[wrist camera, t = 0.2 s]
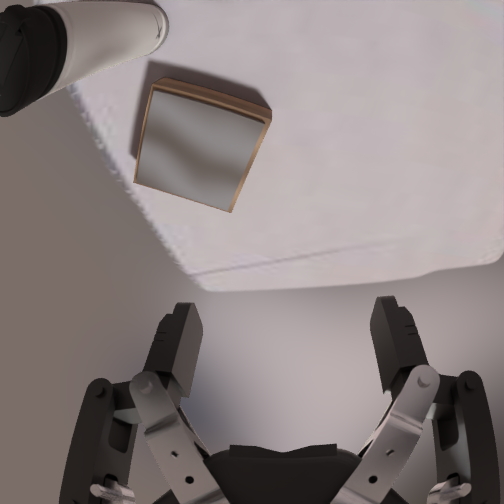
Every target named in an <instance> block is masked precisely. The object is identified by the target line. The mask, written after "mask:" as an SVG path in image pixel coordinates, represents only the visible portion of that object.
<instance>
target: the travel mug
mask: <svg viewBox="0 0 504 504" xmlns="http://www.w3.org/2000/svg"><path fill="white" fill-rule="evenodd" d="M168 31H169V21H168V18H167V16H166V14H165V12H164V11H163V10H162V9H160V8H159V7H157V6H155V5H151V4H143V3H132V2H115V1H76V2H60V3H49V4H41V5H35V6H32V7H27V8H25V7H23V6H22V5H12V6H8V7H7V8H6V9H5V11H4V12H1V13H0V116H1V117H8V116H11V115H13V114H15V113H16V112H18V111H20V110H21V109H23V108H25V107H26V106H28V105H29V104H31V103H32V102H35V101H37V100H40V99H42V98H44V97H46V96H47V95H49V94H52V93H53V92H55V91H57V90H59V89H61V88H63V87H65V86H68V85H70V84H72V83H74V82H76V81H78V80H81V79H83V78H85V77H88V76H90V75H92V74H95V73H97V72H100V71H102V70H105V69H107V68H110V67H113V66H115V65H118V64H121V63H124V62H127V61H130V60H133V59H136V58H139V57H142V56H146V55H148V54H151V53H153V52H154V51H156V50H157V49H158V48H159V47H160V46H161V45H162V44H163V43H164V41H165V39H166V38H167V35H168Z"/></svg>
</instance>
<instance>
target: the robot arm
mask: <svg viewBox="0 0 504 504" xmlns="http://www.w3.org/2000/svg"><path fill="white" fill-rule="evenodd" d="M370 331H371V336H372V340H373V344H374V349H375V353H376V358H377V363H378V368H379V373H380V378H381V383H382V389H383V394H389V393H391V395H392V401H391V402H390V404H389V406H388V407H387V409H386V411H385V413H384V414H383V416H382V418H381V420H380V421H379V423H378V425H377V426H376V428H375V430H374V431H373V432H372V434H371V435H370V437H369V438H368V439H367V441H366V443H365V444H364V445H363V447H362V448H361V449H360V451H359V452H358V454H357V455H356V454H354V453H352V452H349V451H347V450H343V449H338V448H337V444H327V445H313V446H308V447H304V448H300V449H297V450H293V451H289V452H277V451H272V450H269V449H264V448H261V447H257V446H242V445H230V449H229V450H224V451H220V452H218V453H215V454H213V455H211V454H210V453H209V451H208V450H207V448H206V447H205V446H204V444H203V443H202V441H201V440H200V439H199V437H198V436H197V434H196V432H195V431H194V429H193V427H192V426H191V424H190V422H189V420H188V419H187V417H186V415H185V413H184V412H183V410H182V408H181V406H180V405H179V404H180V399H181V397H188V398H189V395H190V390H191V386H192V381H193V376H194V371H195V367H196V363H197V358H198V354H199V349H200V345H201V340H202V336H203V327H202V323H201V320H200V317H199V314H198V311H197V309H196V306H195V304H194V303H177V304H176V306H175V308H174V311H173V314H166V315H165V317H164V318H163V319H162V320H161V322H160V323H159V326H158V328H157V331H156V334H155V337H154V341H153V342H152V346H151V348H150V351H149V354H148V357H147V360H146V363H145V366H144V369H143V371H142V372H141V373H138V374H137V375H135V376H134V377H133V378H132V380H131V381H128V382H122V383H115V384H111V383H110V382H109V381H108V380H107V379H104V378H98V379H95V380H94V381H92V382H91V383H90V384H89V386H88V388H87V390H86V393H85V396H84V400H83V403H82V406H81V409H80V412H79V416H78V419H77V423H76V426H75V430H74V434H73V437H72V441H71V445H70V449H69V453H68V457H67V462H66V466H65V471H64V476H63V481H62V486H61V491H60V497H59V504H135V496H134V493H133V491H132V490H131V489H130V488H129V487H128V486H127V484H128V477H129V471H130V465H131V459H132V453H133V448H134V443H135V438H136V432H137V428H138V423H143V424H144V427H145V430H146V431H145V432H144V435H145V438H146V441H147V443H148V445H149V447H150V449H151V451H152V454H153V456H154V458H155V460H156V462H157V464H158V466H159V467H160V469H161V471H162V473H163V475H164V477H165V479H166V480H167V482H168V484H169V486H170V488H171V489H170V490H169V491H168V492H166V493H165V494H164V495H163V496H161V497H160V498H159V499H157V500H156V501H155V502H154V503H153V504H409V503H408V502H406V501H405V500H404V499H403V498H402V497H401V496H400V495H399V494H398V493H397V492H396V491H395V490H393V489H392V488H391V487H392V485H393V484H394V482H395V481H396V479H397V477H398V476H399V474H400V472H401V471H402V469H403V468H404V466H405V464H406V462H407V460H408V459H409V457H410V455H411V453H412V452H413V450H414V448H415V446H416V444H417V442H418V440H419V438H420V436H421V434H422V430H423V429H422V425H423V422H424V420H425V418H426V419H432V426H433V434H434V443H435V453H436V466H437V485H436V486H434V487H433V488H432V489H431V491H430V493H429V495H428V499H427V504H500V480H499V467H498V458H497V450H496V443H495V436H494V430H493V425H492V420H491V415H490V410H489V406H488V402H487V397H486V393H485V390H484V386H483V382H482V379H481V377H480V376H479V375H478V374H477V373H476V372H474V371H464V372H462V373H461V374H460V375H459V377H454V376H446V375H441V374H438V372H437V371H436V370H435V369H434V368H433V367H431V366H430V365H429V363H428V361H427V358H426V355H425V351H424V348H423V345H422V342H421V339H420V336H419V335H418V330H417V328H416V326H415V322H414V319H413V316H412V314H411V313H410V312H409V311H408V310H407V309H406V308H405V307H398V304H397V301H396V299H395V297H394V296H383V297H377V299H376V302H375V305H374V309H373V313H372V316H371V320H370Z"/></svg>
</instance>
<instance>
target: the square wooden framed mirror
mask: <svg viewBox="0 0 504 504" xmlns="http://www.w3.org/2000/svg"><path fill="white" fill-rule="evenodd" d="M271 121H272V110H270V109H267V108H265V107H262V106H259V105H257V104H254V103H251V102H248V101H245V100H242V99H239V98H237V97H233V96H230V95H227V94H224V93H221V92H218V91H215V90H211V89H208V88H204V87H201V86H197V85H194V84H190V83H186V82H182V81H178V80H174V79H170V78H166V77H164V78H162V79H160V80H158V81H156V82H154V83H153V84H152V87H151V91H150V95H149V99H148V103H147V108H146V112H145V117H144V122H143V127H142V132H141V137H140V143H139V149H138V155H137V161H136V168H135V175H134V182H133V183H136V184H140V185H143V186H146V187H150V188H153V189H156V190H160V191H163V192H166V193H169V194H173V195H176V196H179V197H182V198H186V199H189V200H192V201H195V202H198V203H201V204H205V205H208V206H211V207H214V208H217V209H220V210H223V211H226V212H229V213H231V212H232V210H233V208H234V205H235V203H236V200H237V198H238V196H239V193H240V191H241V189H242V186H243V184H244V182H245V179H246V177H247V175H248V173H249V170H250V168H251V166H252V163H253V161H254V159H255V157H256V154H257V152H258V150H259V148H260V145H261V143H262V141H263V139H264V137H265V134H266V132H267V130H268V128H269V126H270V123H271Z"/></svg>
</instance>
